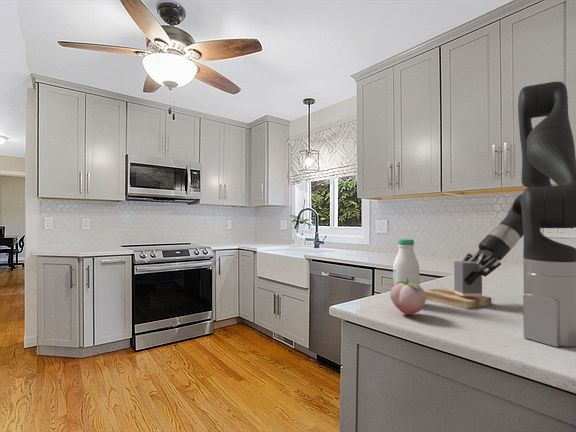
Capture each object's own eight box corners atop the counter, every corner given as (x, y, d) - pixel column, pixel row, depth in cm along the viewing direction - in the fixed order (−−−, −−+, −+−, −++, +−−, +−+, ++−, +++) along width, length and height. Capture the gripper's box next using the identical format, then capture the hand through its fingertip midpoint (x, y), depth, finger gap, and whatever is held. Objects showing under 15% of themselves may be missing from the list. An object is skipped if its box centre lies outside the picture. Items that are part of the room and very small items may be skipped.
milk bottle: (424, 304, 99) (424, 239, 99) (409, 308, 95) (409, 240, 95) (403, 299, 105) (403, 238, 106) (387, 302, 101) (387, 239, 101)
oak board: (467, 309, 94) (467, 301, 94) (418, 296, 109) (418, 290, 109) (491, 304, 100) (491, 297, 100) (442, 293, 115) (442, 287, 115)
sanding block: (472, 292, 103) (472, 261, 103) (482, 295, 98) (481, 263, 98) (454, 292, 102) (454, 261, 102) (462, 296, 98) (462, 263, 98)
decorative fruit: (433, 317, 86) (433, 279, 86) (412, 322, 82) (412, 282, 82) (405, 309, 94) (405, 274, 94) (384, 312, 90) (384, 276, 90)
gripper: (476, 233, 108) (441, 269, 107) (507, 234, 94) (467, 276, 93) (491, 248, 108) (457, 285, 107) (525, 252, 94) (485, 295, 93)
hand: (462, 281), depth 100 cm, fingers closed on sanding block, 4 cm apart
